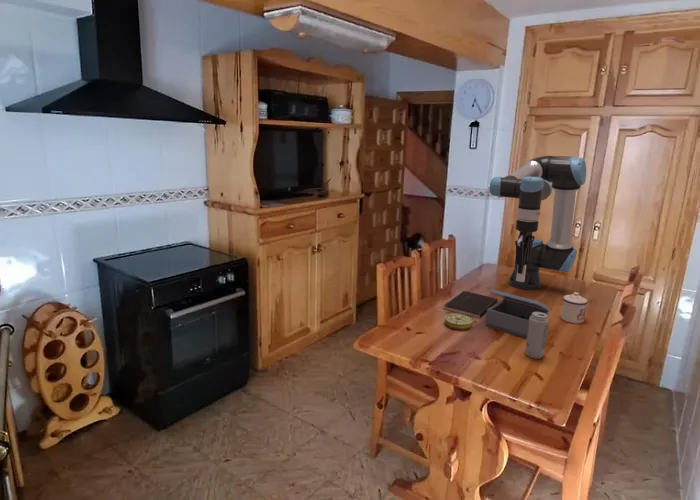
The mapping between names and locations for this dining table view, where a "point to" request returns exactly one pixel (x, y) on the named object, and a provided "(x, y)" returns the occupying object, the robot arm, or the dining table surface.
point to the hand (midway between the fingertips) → (520, 280)
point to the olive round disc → (458, 321)
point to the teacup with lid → (573, 308)
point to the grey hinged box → (511, 317)
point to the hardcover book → (471, 304)
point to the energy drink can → (536, 335)
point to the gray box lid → (520, 299)
